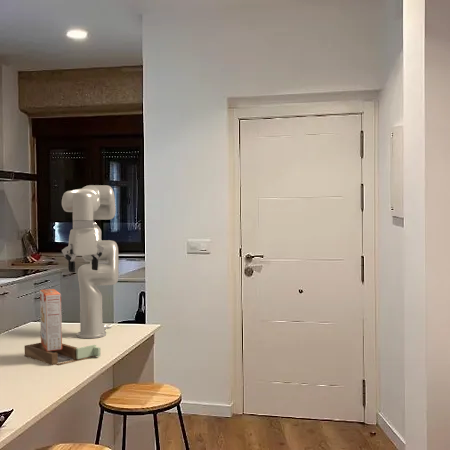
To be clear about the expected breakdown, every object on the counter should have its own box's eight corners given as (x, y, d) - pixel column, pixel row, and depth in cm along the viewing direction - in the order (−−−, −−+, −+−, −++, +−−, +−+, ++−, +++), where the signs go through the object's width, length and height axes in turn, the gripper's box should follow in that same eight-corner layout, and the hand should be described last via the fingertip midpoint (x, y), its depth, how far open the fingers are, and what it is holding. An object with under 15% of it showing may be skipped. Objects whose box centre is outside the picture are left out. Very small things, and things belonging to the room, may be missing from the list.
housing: (66, 347, 229) (66, 337, 229) (97, 356, 215) (97, 345, 215) (24, 356, 216) (24, 345, 216) (54, 366, 202) (54, 354, 202)
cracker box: (39, 344, 218) (39, 289, 218) (56, 342, 221) (55, 288, 220) (45, 352, 206) (44, 294, 205) (62, 350, 208) (61, 293, 208)
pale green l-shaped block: (94, 354, 216) (94, 344, 216) (100, 356, 213) (100, 346, 213) (76, 358, 210) (76, 348, 210) (82, 360, 207) (82, 350, 207)
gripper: (97, 224, 223) (97, 268, 223) (57, 225, 211) (57, 272, 211) (108, 225, 218) (108, 269, 218) (67, 226, 206) (68, 273, 206)
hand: (83, 270), depth 215 cm, fingers open, 9 cm apart
